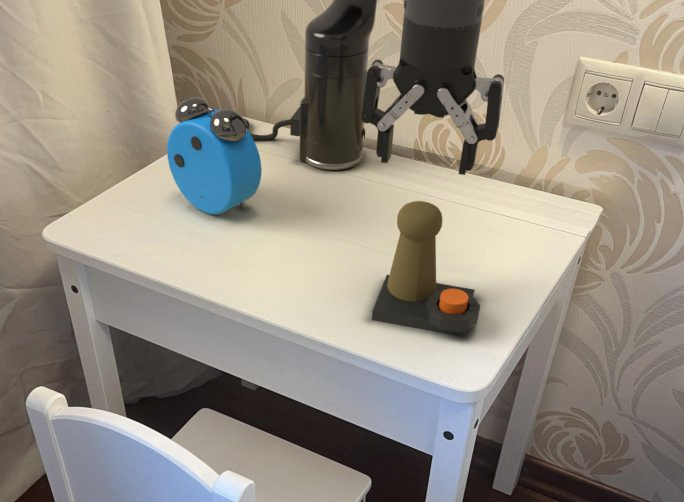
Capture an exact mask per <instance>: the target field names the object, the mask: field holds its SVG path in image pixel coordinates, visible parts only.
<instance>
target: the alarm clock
mask: <svg viewBox="0 0 684 502" xmlns="http://www.w3.org/2000/svg"><path fill="white" fill-rule="evenodd" d="M174 117H175V120H176V122H179V121H181V122H179V123H177V124H176V125H175V126H174V127H173V128H172V130H171V131H170V133H169V136H168V140H167V146H166V155H167V161H168V167H169V169H170V172H171V176H172V178H173V180H174V182H175V184H176V186H177V188H178V189H179V191H180V192H181V194H182V195H183V196H184V198H185V199H186V200H187V201H188V203H190V204H191V205H192V206H193V207H194V208H196V209H197V210H199V211H201V212H203V213H205V214H208V215H220V214H223V213H225V212H227V211H229V210H231V209H232V208H234V207H236V206H238V205H240V207H241V209H245V202H246V201H248V200H250V199H251V198H252V197H253V196H254V195H255V194H256V193H257V191H258V189H259V187H260V184H261V180H262V160H261V155H260V152H259V149H258V146H257V144H256V142H255V140H253V138H252V136H251V134H252V133H251V132H250V131H249V130H247V127H246V122H245V120H244V118H245V117H243V116H242V115H241V114H240V113H239V112H238V111H236V110H234V109H231V108H222V109H214V108H212V107H211V106H210V104H209V102H208V101H207V100H206V99H204V98H203V97H200V96H193V97H188V95H187V96H185V100H182V101H181V102H180V103H179V104H178V105H177V106H176V109H175V112H174ZM185 119H186V120H185ZM182 120H183V121H182ZM250 133H251V134H250Z"/></svg>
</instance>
